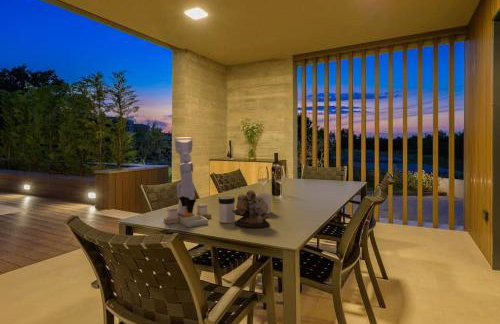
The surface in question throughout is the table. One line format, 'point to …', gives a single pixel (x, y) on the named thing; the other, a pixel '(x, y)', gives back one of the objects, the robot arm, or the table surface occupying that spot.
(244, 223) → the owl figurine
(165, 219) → the rack
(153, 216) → the table surface
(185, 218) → the tray
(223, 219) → the jar
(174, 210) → the white fuse
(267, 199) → the mug
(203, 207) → the block
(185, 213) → the block
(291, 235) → the table surface
